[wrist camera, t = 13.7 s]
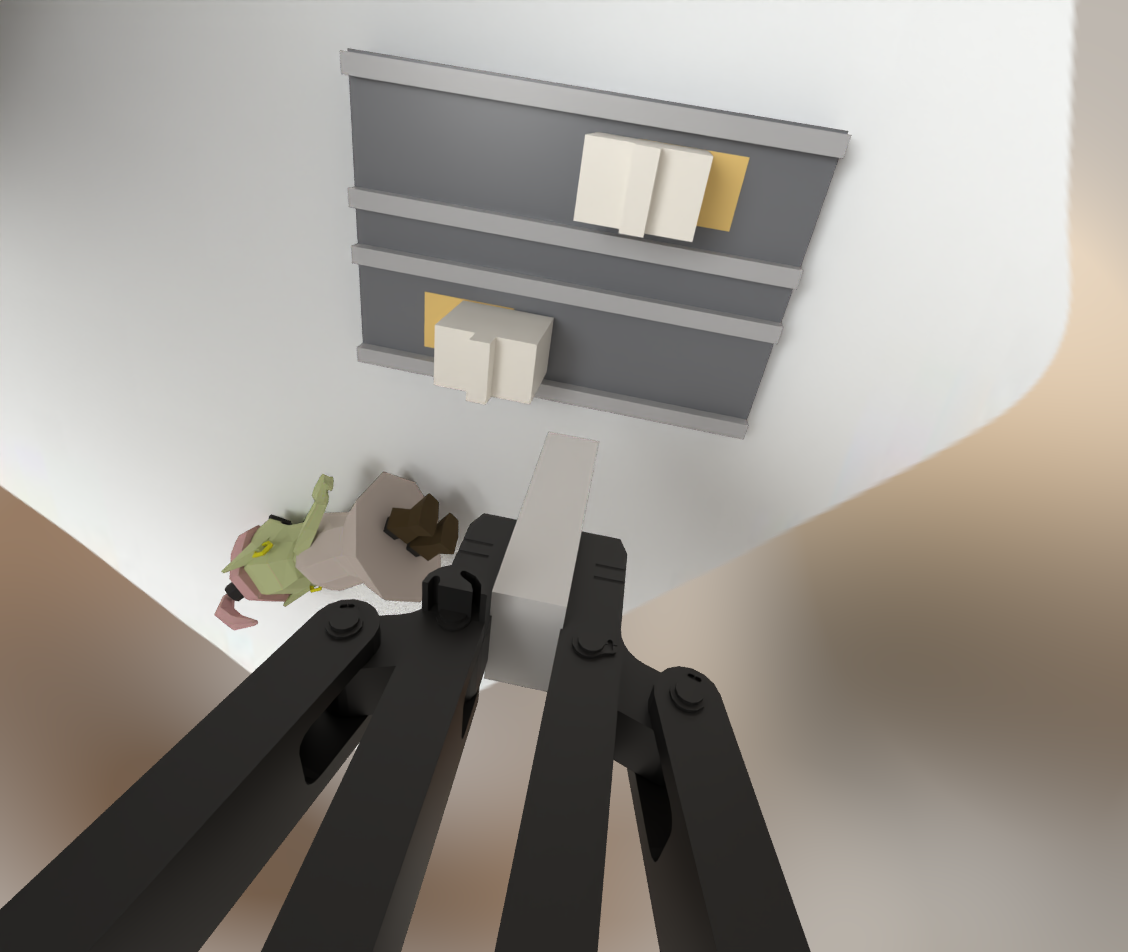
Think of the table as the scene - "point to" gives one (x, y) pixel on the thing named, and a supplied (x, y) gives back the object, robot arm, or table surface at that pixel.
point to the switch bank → (577, 235)
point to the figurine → (342, 548)
